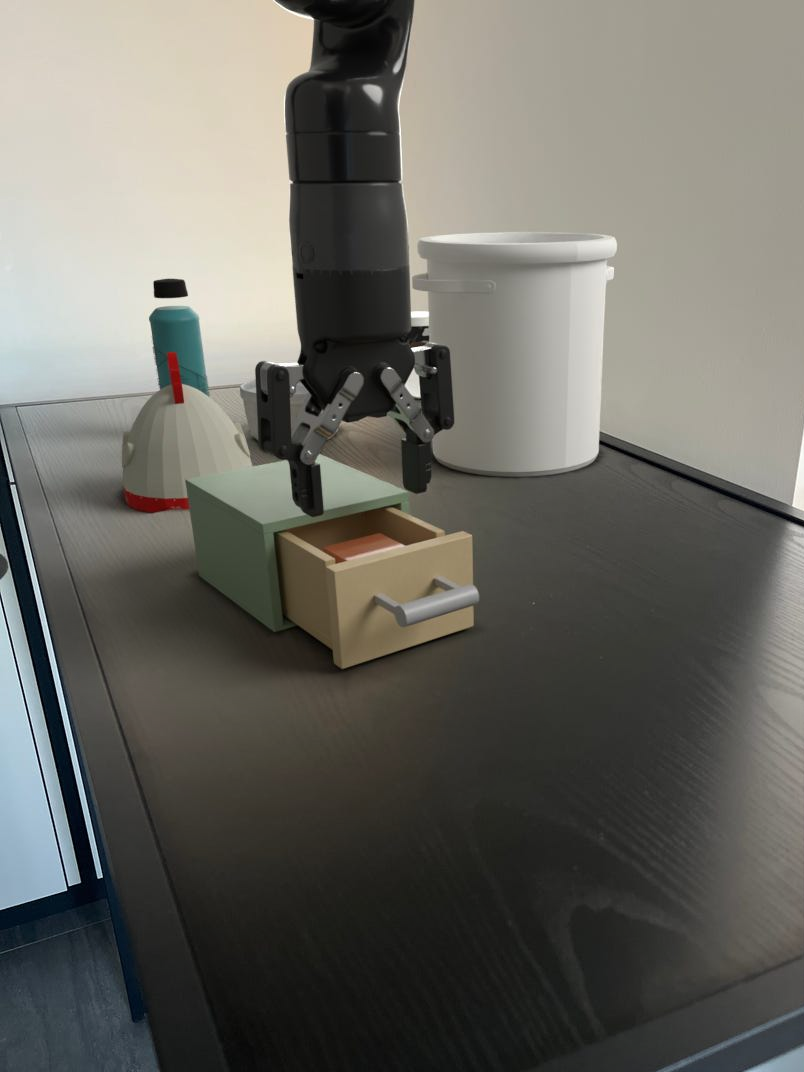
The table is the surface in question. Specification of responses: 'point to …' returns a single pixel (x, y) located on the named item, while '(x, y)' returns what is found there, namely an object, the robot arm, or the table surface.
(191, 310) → the beverage bottle
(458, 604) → the drawer
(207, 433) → the kitchen timer
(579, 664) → the table surface
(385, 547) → the block
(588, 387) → the bucket
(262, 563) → the cabinet
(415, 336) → the spread jar
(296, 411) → the ramekin
